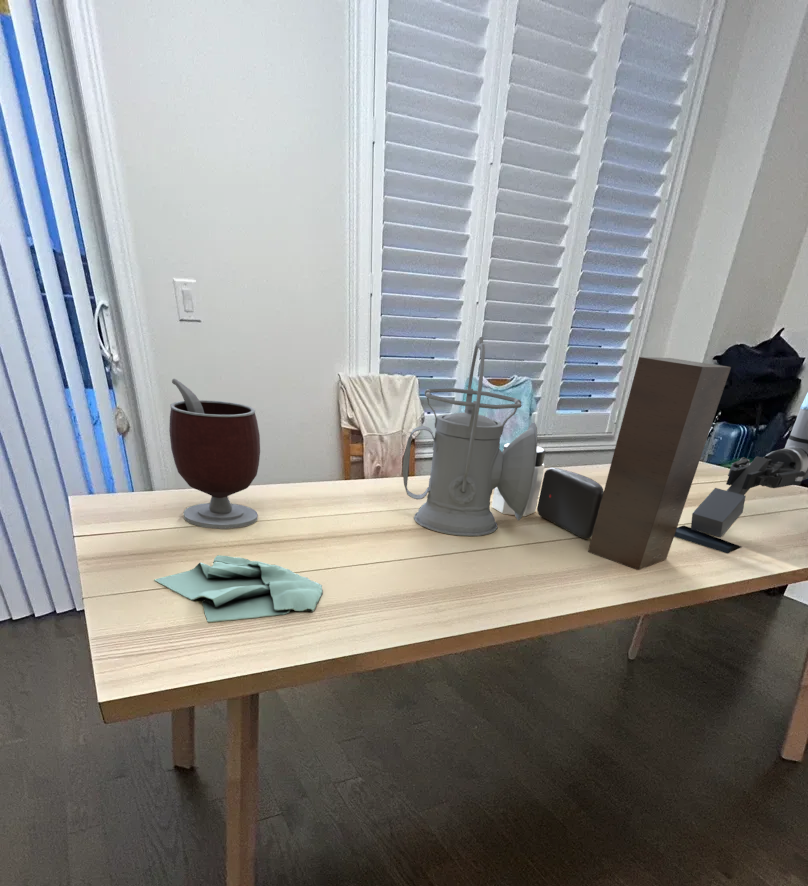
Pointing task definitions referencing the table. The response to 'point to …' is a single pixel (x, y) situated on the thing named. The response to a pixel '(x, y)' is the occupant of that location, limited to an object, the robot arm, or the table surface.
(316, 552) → the table surface
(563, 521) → the red-dotted rounded block
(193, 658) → the table surface
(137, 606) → the table surface
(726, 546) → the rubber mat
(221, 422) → the mate gourd
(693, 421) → the plinth
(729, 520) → the switch lever
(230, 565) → the cloth
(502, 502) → the jar
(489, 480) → the lantern
